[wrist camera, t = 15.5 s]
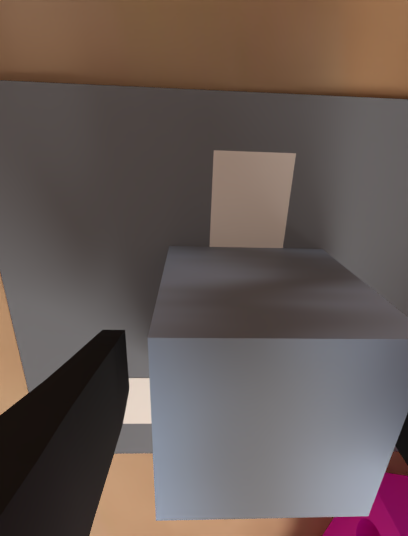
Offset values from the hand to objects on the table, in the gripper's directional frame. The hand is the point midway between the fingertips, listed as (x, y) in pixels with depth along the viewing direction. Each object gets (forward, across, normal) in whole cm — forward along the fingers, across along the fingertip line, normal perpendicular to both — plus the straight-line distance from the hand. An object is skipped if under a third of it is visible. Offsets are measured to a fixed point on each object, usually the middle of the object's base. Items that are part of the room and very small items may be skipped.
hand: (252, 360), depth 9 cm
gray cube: (+2, 0, 0) cm, 2 cm away
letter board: (+3, 0, 0) cm, 3 cm away
